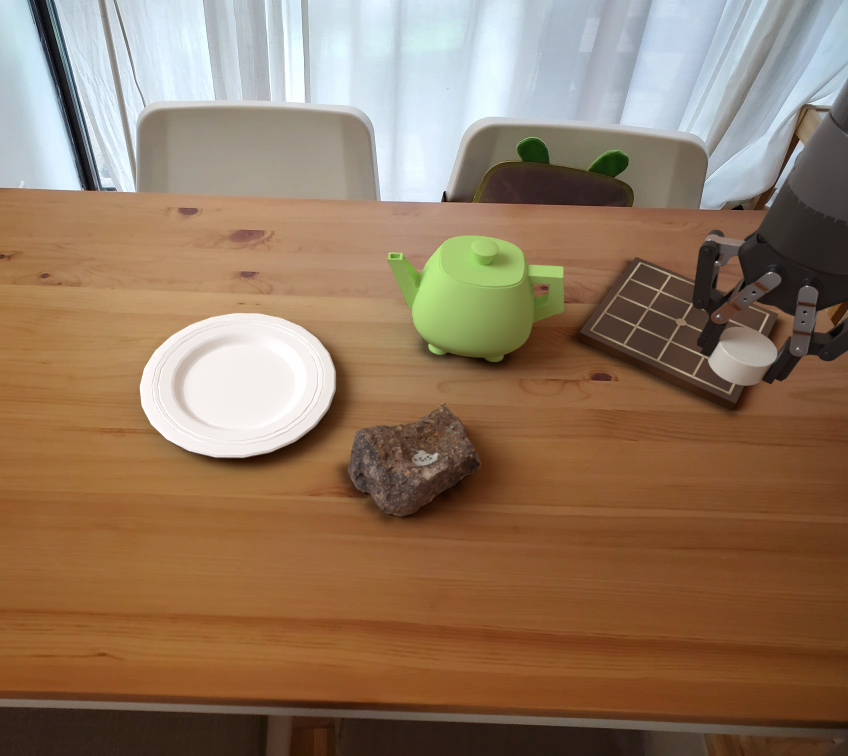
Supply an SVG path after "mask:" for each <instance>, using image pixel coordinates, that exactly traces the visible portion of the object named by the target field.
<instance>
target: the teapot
mask: <svg viewBox="0 0 848 756" xmlns="http://www.w3.org/2000/svg"><path fill="white" fill-rule="evenodd" d="M387 263H388V266H389V267H390V270H391V273H392V275H393V276H394V278H395V281H396V283H397V286H398V288H399V290H400V292H401V294H402V296H403V298H404V301H405V303H406V305H407V307H408V308H409V309H411V316H412V322H413V325H414V327H415V330H416V331H417V332H418V334H419V335H420V336H421V337H422V339H423V340H424V341H425V342H426V343H427V344H428V349H429V351H430V352H431V353H433V354H434V355H438V356H439V355H440V356H442V355H445V354H447V353H450V354H452V355H456V356H462V357H467V358H484V359H485V361H488V362H491V363H497V362H500V361H503V359H504V357H505V355H507V354H509V353H512V352H514V351H516V350H517V349H519V348H520V347H522V346H523V345H524V344H526V341H527V340H528V339H529V337H530V335H531V331H532V328H533V323H536V322H539V321H542V320H544V319H545V320H546V319H548V318H550V317H554V316H557V315H558V314H562V313H565V277H564V275H565V274H564V273H565V272H564V270H565V269H564V266H561V265H542V264H528V261H527V259H526V256H525V254H524V252H523V250H522V249H521V248H520V247H518V246H517V245H515V244H514V243H512V242H509V241H507V240H503V239H500V238H496V237H493V236H492V237H491V236H484V235H483V236H482V235H458V236H453V237H450V238H448V239H446V240H445V241H444V242H442V244H441V245H440V246H438V248H437V249H436V250H435V251H434V252H433V254H432V255H431V256H430V258H429V259H428V260H427V262H425V265H424V267H423V268H422V270H421V271H418V270H417V269H416V268H415V267H414V265H412V263H411V262H410V261H409V260H408V258H406V257H405V255H404V252H395V251H394V252H392V251H391V252H390V251H389V252H388V253H387ZM534 285H548V293H545V294H541V295H539V296H535V288H534V287H535V286H534Z"/></svg>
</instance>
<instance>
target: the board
mask: <svg viewBox="0 0 848 756" xmlns="http://www.w3.org/2000/svg"><path fill="white" fill-rule="evenodd" d="M694 284H695V279H693V278H690V277H688V276H685V275H682V274H681V273H678V272H675V271H673V270H670V269H667V268H665V267H663V266H660V265H658V264H655V263H652V262H650V261H647V260H646V259H643V258H640V257H638V256H635V257H634V258H633V260H632V261H631V262H630V264H629V265H628V266H627V268H626V269H625V270H624V271H623V273H622V274H621V276H620V277H619V278H618V279H617V281H616V282H615V284H614V285H613V286H612V288H611V289H610V290H609V292H608V293H607V294H606V296H605V297H604V299H602V301H601V302H600V304H599V305H598V307H597V308H596V309H595V310H594V311H593V312H592V314H591V316H590V317H589V319H588V320H587V321H586V322H585V324H584V325H583V326H582V328H580V329H581V330H579V332H578V334H577V337H576V340H577V341H579V342H582V343H584V344H586V345H588V346H590V347H593V348H595V349H597V350H599V351H601V352H604V353H606V354H608V355H610V356H612V357H613V358H614V357H615V358H616V359H618V360H621V361H623V362H625V363H627V364H629V365H632V366H633V367H636V368H638V369H641V370H643V371H645V372H647V373H649V374H651V375H654V376H655V377H657V378H660V379H662V380H664V381H666V382H669V383H670V384H673V385H675V386H677V387H679V388H681V389H683V390H685V391H687V392H690V393H693V394H694V395H696V396H699V397H701V398H703V399H705V400H707V401H709V402H712V403H714V404H716V405H718V406H721V407H722V408H725V409H727V410H729V411H732V410H733V408H734V407H735V406H736V404H737V403H738V399H739V397H740V396H741V394H742V392H743V389H744V388H745V386H743V385H737V384H734V383H731V382H728V381H726V380H724V379H723V378H721V377H720V376H718V375H717V374H716V373H715V372H714V371H713V370H712V368H711V367H710V365H709V362H708V357H707V356H704V355H702V354H700V352H701V350H702V347H699V346H697V339H698V338H699V336H700V334H701V332H702V330H703V328H704V326H705V325H706V323H707V321H708V319H709V315H708V313H707V312H706V311H705V310H704V309H697V308H695V307H694V306H693V304H692V299H693V292H694ZM716 290H717V291H719V292H720V293H721V294H722V295H725V294H726V293H727V292H725V291H723V290H720V289H718V288H716ZM778 317H779V313H778V312H775V311H772V310H770V309H768V308H765V307H762V306H760V305H757V304H755V303H753V304H751V305H750V306H749V307H748V308H746V309H745V310H744V311H742V312H741V311H740V312H738V313H737V314H736V315H734V316H733V317H732V318H731V319H729V321H728V323H727V325H726V327H725V329H728V328H731V327H744V328H749V329H752V330H755V331H757V332H759V333H761V334H763V335H764V336H766V337H767V338H769V335H770V333H771V332H772V329H773V326H774V325H775V323H776V321H777V318H778ZM725 329H724V330H725Z"/></svg>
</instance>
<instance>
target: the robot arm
mask: <svg viewBox="0 0 848 756" xmlns="http://www.w3.org/2000/svg"><path fill="white" fill-rule="evenodd" d="M733 257H737V258H738V261H739V265H740V268H741V271H742V276H743V277H742V278H740V279H739V280H738V282H737V283H736V284H735V286H733V287H732V288H730V290H728V291H727V292H725V293H726V294H725V295H722V294H721V293H720V292H719V291H717V290H716V289H718V282H719V281H718V280H719V275H720V269H721V267H724V266H727V264H728V263H729V261H730V259H731V258H733ZM694 280H695V284H694V292H693V299H692V304H693V306H694V307H695V308H697V309H704V310H705V311H706V312H707V313H708V315H709V319H708V321H707V323H706V325H705V326H704V328H703V330H702V332H701V334H700V336H699V338H698V339H697V346H699V347H702V350H701V352H700V354H702V355H704V356H707V357H708V356H709V354H710V353H711V351H712V349H713V348H714V346H715V344H716V343H717V341H718V339H719V338H720V336H721V334H722V333H723V331H724V329H725V327H726V325H727V323H728V321H729V319H731V318H732V317H733V316H734V315H736V314H737V313H738V312H740V311H741V312H742V311H744V310H745V309H746V308H748V307H749V306H750V305H751V304H755V303H756V302H757V303H759V304H761V305H766V306H770V307H775V308H777V309H778V310H780V311H781V312H783V313H784V314H787V315H789V316H792V317H794V318H793V324H792V330H791V332H792V333H791V336H790V335H788V337H787V338H786V340H785V342H784V343H783V344H782V346H781V347H780V349H779V350H778V351H777V352H778V355H777V358H776V360H775V362H774V364H773V365H772V367H771V368H770V370H769V371H768V372H767V374H766V375H765V377H764V378H763V380H762V381H763V382H764V383H766V384H769V385H772V384H773V383H774V381H778V382H783V381H784V380H786V379H788V377H789V376H790V374H791V373H792V372H793V370H794V369H795V367H796V366H797V365H798V363H800V360H801V359H802V358H804V357H806V356H816V357H818V358H819V360H821V361H824V362H832V361H835V360H836V359H837V358H839V357H840V356H843V354H845V353H846V352H848V316H847V317H846V318H844V319H842V321H840V322H838V324H836V325H835V326H833V327H832V328H831V329H829V330H828V331H826V332H818V331H816V325H817V320H818V317H819V313H820V312H821V311H823V310H825V309H828V308H831V307H835V306H838V305H841V304H843V303H846V302H848V77H847V78H846V80H845V82H844V83H843V85H842V87H841V89H840V90H839V92H838V94H837V96H836V97H835V99H834V101H833V103H832V105H831V106H830V109H828V112H827V113H826V114H825V116H824V117H823V119H822V120H821V122H820V123H819V124H818V126H816V128H815V129H814V130H813V132H812V134H811V135H810V136H809V137H808V139H807V141H806V142H805V144H804V145H803V147H802V149H801V151H800V152H799V153H798V154H797V156H796V158H795V160H794V162H793V165H792V167H791V169H790V171H789V172H788V174H787V176H786V178H785V180H784V182H783V183H782V185H781V186H780V189H779V190H778V192H777V194H776V196H775V197H774V198H773V201H772V203H771V205H770V207H769V208H768V210H767V212H766V214H765V216H764V217H763V219H762V221H761V222H760V225H759V226H758V228H757V229H756V230H755V231H754V232H752V233H750V234H749V235H747V236H746V237H744V239H741V238H733V237H732V238H731V237H725V234H724V232H723V231H722V230H720V229H712V230H710V231H709V232H708V233H707V235H706V237H705V238H704V240H703V242H702V244H701V245H700V247H699V249H698V256H697V263H696V270H695V279H694ZM762 381H761V382H762Z"/></svg>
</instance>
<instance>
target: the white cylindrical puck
mask: <svg viewBox="0 0 848 756" xmlns="http://www.w3.org/2000/svg"><path fill="white" fill-rule="evenodd" d="M778 352H779V351H778V348H777V347H776V345H775V344H774V342H773V341H772V340H770V338H769V337H766V336H764V335H763V334H761V333H759V332H757V331H755V330H752V329H749V328H744V327H731V328H728V329H725V330H724V331H723V333H722V334H721V336H720V338H719V339H718V341H717V343H716V344H715V346H714V348H713V349H712V351H711V353H710V354H709V356H708V362H709V365H710V367H711V368H712V370H713V371H714V372H715V373H716V374H717V375H718V376H720V377H721V378H723V379H724V380H726V381H728V382H731V383H734V384H737V385H743V386H744V387H745V386H747V387H749V386H755V385H757V384H759V383H761V382H762V380H763V378H764V377H765V375H766V374H767V372H768V371H769V370H770V368H771V367H772V365H773V364H774V362H775V360H776V358H777V355H778Z"/></svg>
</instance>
